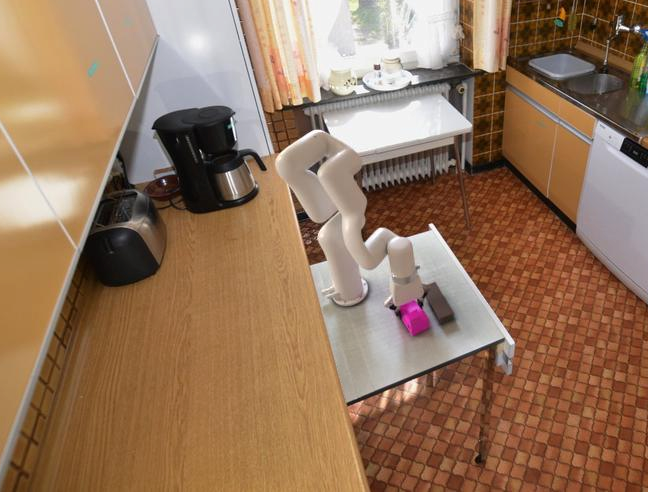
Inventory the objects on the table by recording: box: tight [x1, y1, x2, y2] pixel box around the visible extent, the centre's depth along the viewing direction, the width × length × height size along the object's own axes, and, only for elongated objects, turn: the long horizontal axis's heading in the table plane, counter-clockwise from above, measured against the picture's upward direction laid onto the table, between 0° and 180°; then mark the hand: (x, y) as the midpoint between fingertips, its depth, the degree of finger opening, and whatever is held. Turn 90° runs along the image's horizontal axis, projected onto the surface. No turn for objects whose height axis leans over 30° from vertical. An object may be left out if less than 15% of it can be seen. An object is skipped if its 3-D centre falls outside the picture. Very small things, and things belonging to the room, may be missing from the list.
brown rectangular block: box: [423, 281, 455, 324], centre depth 147 cm, size 15×5×3 cm, turn 23°
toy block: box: [391, 300, 431, 337], centre depth 142 cm, size 15×6×8 cm, turn 29°
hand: (410, 311), depth 143 cm, fingers closed on toy block, 6 cm apart
